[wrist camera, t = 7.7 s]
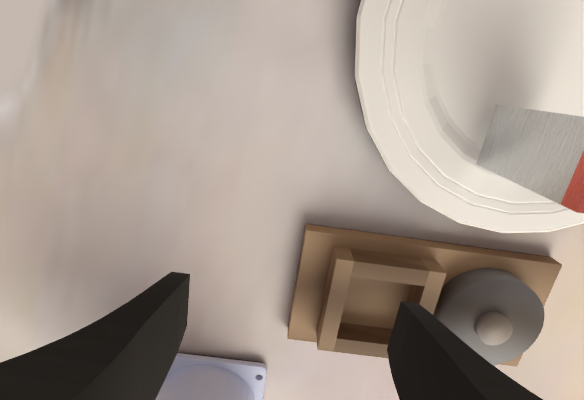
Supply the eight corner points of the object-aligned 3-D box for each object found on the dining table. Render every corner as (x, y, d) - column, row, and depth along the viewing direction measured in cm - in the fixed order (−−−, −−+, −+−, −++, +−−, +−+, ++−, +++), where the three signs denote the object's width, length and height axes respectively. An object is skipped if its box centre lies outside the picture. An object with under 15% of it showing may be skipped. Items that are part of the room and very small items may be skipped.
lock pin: (532, 173, 20) (661, 225, 13) (476, 164, 19) (576, 212, 13) (555, 114, 19) (709, 136, 12) (495, 104, 18) (617, 121, 12)
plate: (389, -243, 16) (402, -284, 14) (840, -177, 16) (909, -209, 14) (324, 205, 22) (327, 216, 20) (644, 237, 23) (674, 251, 21)
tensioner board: (508, 355, 26) (535, 390, 23) (287, 328, 25) (287, 361, 22) (551, 257, 23) (587, 282, 20) (305, 223, 22) (307, 245, 19)
